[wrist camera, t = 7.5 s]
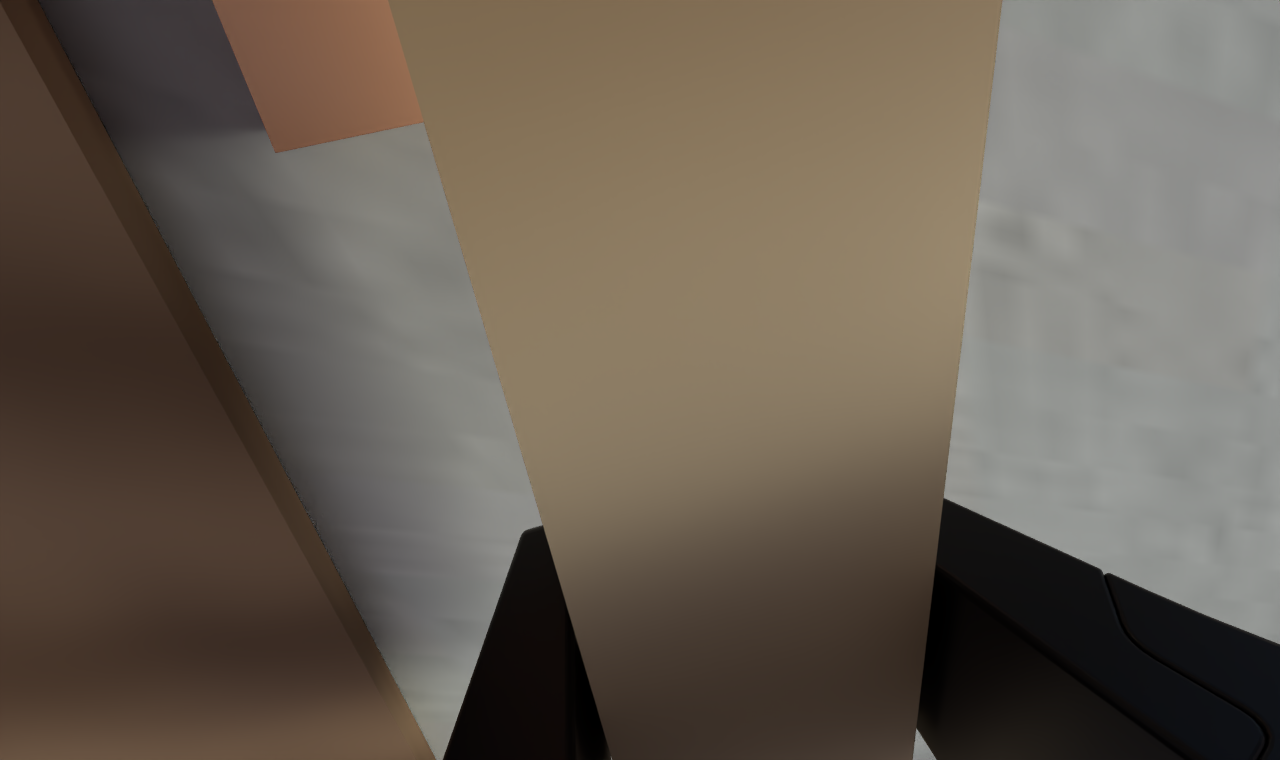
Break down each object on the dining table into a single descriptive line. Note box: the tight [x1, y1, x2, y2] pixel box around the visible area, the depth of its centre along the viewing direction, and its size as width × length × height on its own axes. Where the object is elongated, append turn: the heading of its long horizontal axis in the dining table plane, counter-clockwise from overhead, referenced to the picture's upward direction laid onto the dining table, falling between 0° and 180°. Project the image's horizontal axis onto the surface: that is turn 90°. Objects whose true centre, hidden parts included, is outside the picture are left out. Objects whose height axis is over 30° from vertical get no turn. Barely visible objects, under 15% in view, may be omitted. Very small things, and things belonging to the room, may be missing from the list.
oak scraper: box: [388, 0, 1002, 760], centre depth 8 cm, size 16×3×4 cm, turn 9°
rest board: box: [0, 0, 436, 760], centre depth 15 cm, size 24×9×1 cm, turn 9°
